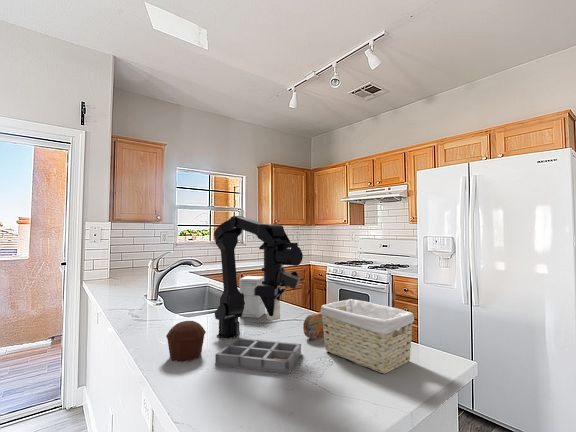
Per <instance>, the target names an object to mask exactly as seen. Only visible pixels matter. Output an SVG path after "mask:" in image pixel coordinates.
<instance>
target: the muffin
mask: <svg viewBox="0 0 576 432" xmlns="http://www.w3.org/2000/svg"><path fill="white" fill-rule="evenodd" d="M206 332H207V331H206V330H205V328H204V327H203V326H202V325H201V324H200V323H199V322H196V321H194V320H184V321H180V322H178V323H175V324H174V325H173V326H172V327H171V328H170V329H169V331H168V332H167V334H166V339H167V344H168V345H167V346H168V354H169V358H170V359H171V360H172V362H178V363H183V362H191V361H194V360H196V359H199V358H200V356H201V355H202V351H203V345H204V340H205V335H206Z"/></svg>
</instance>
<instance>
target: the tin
mask: <svg viewBox="0 0 576 432" xmlns="http://www.w3.org/2000/svg"><path fill="white" fill-rule="evenodd" d="M326 327H327V326H326ZM302 329H303V334H304V335H305V337H306V338H308V339H310V340H313V341H314V340H315V341H316V340H319V339H321V338H324V331H323V322H322V315H321V311H320V312H316V313H312V314H309V315H308V316H307V317H305V318H304V321H303V327H302Z"/></svg>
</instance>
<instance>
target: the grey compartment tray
mask: <svg viewBox="0 0 576 432" xmlns="http://www.w3.org/2000/svg"><path fill="white" fill-rule="evenodd" d="M301 355H302V344H301V343H296V342H295V343H293V342H287V341H285V342H284V341H283V342H282V341H273V340H263V339H256V338H255V339H254V338H243V337H236V338H235V339H233V340H232V341H231V342H229V343H228V344H226V345H225V346H224V347H223V348H222V349H220V350H219V351H218V352H216V353H215V356H214V357H215V363H214V364H215V366H219V367H227V368H237V369H242V370H243V369H245V370H252V371H254V370H255V371H259V372H267V373H276V374H283V375H285V374H286V375H289V374H290V373H291V371H292V369H293V368H294V366H295V364H296V363H297V361H298V360H299V357H301Z"/></svg>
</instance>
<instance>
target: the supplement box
mask: <svg viewBox="0 0 576 432" xmlns="http://www.w3.org/2000/svg"><path fill="white" fill-rule="evenodd" d="M262 281H264V275H263V276H261V275H259V276H258V275H255V276H253V275H251V276H250V275H247V276H246V275H245V276H243V277H241V278H240V279H239V291H240V293H243V294H244V302H245V305H244V310H243V314H242V318H253V319H254V318H258V319H259V318H261V317H262V316H264V315H265V313H266V307H265V305H264V303H263V301H262V299H261V298H260V296H255V295H254V289H255V288H256V287H257V286H258V285H260V284H262Z"/></svg>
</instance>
